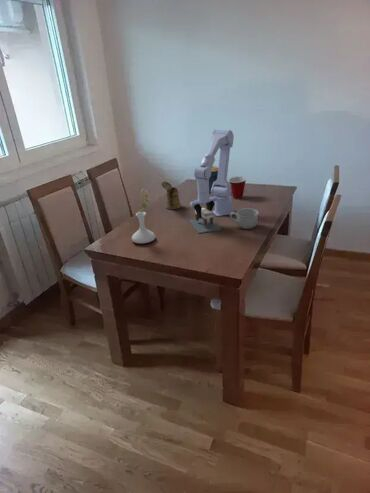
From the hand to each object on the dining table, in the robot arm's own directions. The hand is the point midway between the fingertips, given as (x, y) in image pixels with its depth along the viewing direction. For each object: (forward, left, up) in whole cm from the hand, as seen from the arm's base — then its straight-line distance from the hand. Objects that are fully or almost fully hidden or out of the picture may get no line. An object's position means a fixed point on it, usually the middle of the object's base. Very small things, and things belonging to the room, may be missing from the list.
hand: (204, 216), depth 186 cm
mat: (0, 0, -5) cm, 5 cm away
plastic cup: (-32, -34, -5) cm, 47 cm away
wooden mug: (+10, -32, -5) cm, 34 cm away
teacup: (-18, +9, -5) cm, 21 cm away
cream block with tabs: (0, 0, -3) cm, 3 cm away
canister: (-22, -55, -5) cm, 59 cm away
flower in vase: (+32, +6, -5) cm, 33 cm away
